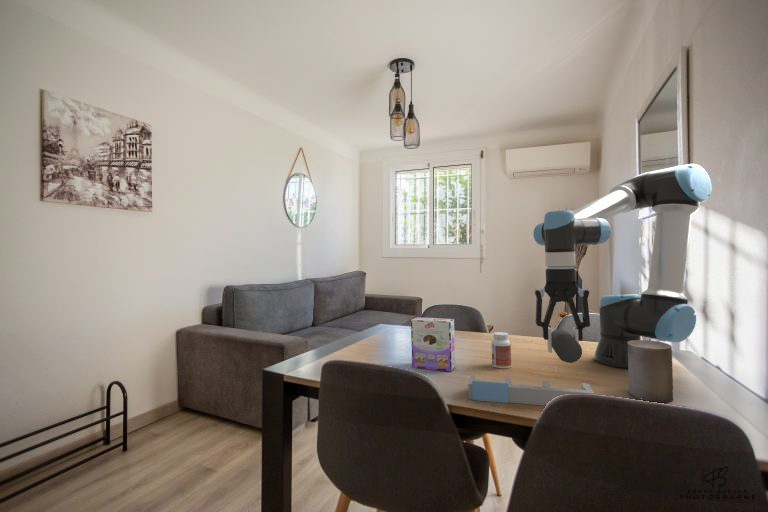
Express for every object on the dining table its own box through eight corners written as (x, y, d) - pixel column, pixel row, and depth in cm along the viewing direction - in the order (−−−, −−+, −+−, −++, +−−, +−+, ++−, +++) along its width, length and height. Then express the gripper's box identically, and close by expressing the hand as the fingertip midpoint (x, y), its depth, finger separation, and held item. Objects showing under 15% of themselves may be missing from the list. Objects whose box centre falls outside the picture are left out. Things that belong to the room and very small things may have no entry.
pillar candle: (679, 396, 99) (677, 339, 99) (664, 406, 93) (663, 345, 93) (637, 386, 107) (636, 333, 107) (621, 394, 101) (620, 338, 101)
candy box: (455, 367, 127) (455, 318, 127) (451, 372, 122) (450, 321, 122) (417, 362, 133) (416, 316, 133) (411, 367, 128) (410, 319, 128)
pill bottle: (515, 366, 126) (514, 333, 126) (502, 370, 123) (502, 336, 123) (500, 362, 132) (499, 330, 132) (488, 365, 128) (487, 333, 128)
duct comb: (588, 398, 99) (587, 379, 98) (595, 410, 91) (595, 389, 91) (470, 389, 107) (469, 371, 107) (468, 399, 100) (468, 380, 100)
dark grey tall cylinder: (549, 349, 108) (548, 328, 108) (572, 350, 106) (571, 329, 106) (556, 362, 96) (555, 338, 96) (582, 363, 95) (581, 339, 95)
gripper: (595, 266, 104) (597, 349, 105) (522, 267, 110) (525, 347, 110) (603, 267, 97) (605, 357, 98) (524, 269, 102) (527, 354, 103)
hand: (562, 351), depth 104 cm, fingers closed on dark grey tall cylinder, 6 cm apart
